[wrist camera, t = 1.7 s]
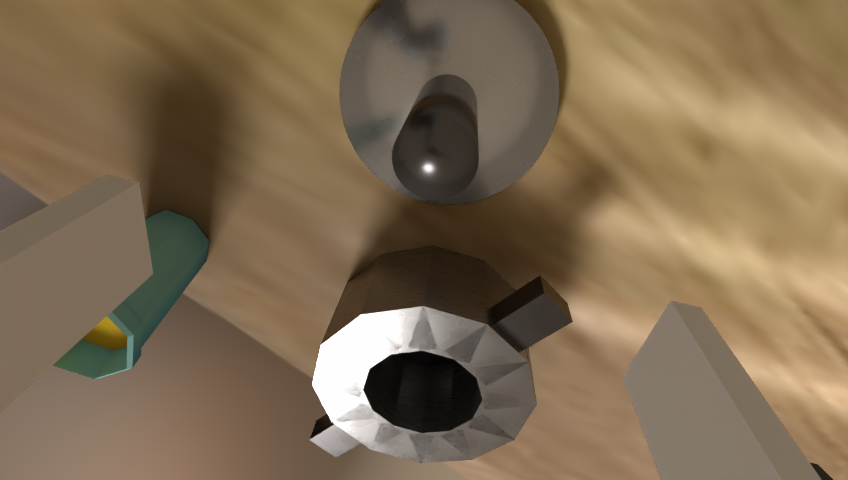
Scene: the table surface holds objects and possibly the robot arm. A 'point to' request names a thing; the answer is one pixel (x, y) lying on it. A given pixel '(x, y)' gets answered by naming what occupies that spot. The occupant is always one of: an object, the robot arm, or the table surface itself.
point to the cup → (142, 299)
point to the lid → (449, 96)
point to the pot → (431, 357)
